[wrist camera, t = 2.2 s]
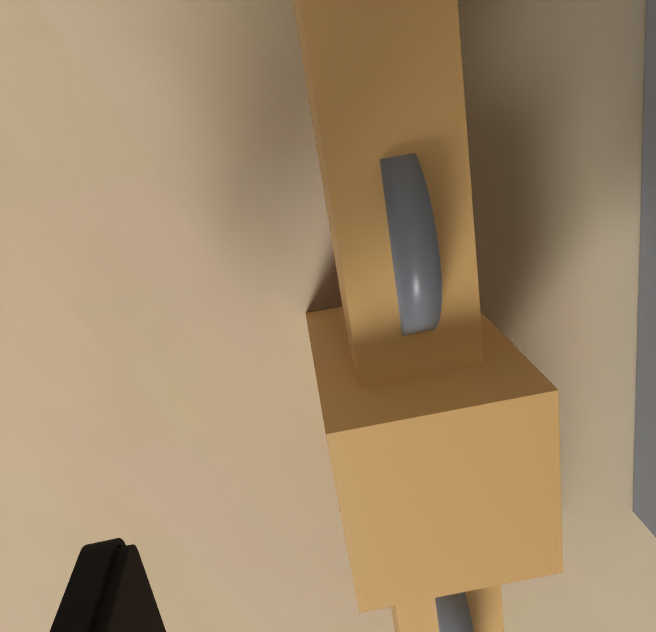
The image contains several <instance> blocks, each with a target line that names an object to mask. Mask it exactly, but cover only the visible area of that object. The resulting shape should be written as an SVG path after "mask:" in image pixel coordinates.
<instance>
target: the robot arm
mask: <svg viewBox="0 0 656 632" xmlns="http://www.w3.org/2000/svg"><path fill="white" fill-rule="evenodd" d="M50 632H166V630H165V627H164V624H163V621H162V619H161V616H160V613H159V610H158V607H157V604H156V601H155V598H154V595H153V592H152V590H151V587H150V584H149V581H148V578H147V575H146V572H145V569H144V566H143V564H142V561H141V558H140V555H139V552H138V550H137V547H136V546H135V545H133V544H132V545H128V546H126V545H125V543H124V541H123V540H122V539H121V538H116V539H112V540H107V541H102V542H97V543H93V544H88V545H85V546H84V547H83V548H82V549H81V551H80V554H79V556H78V559H77V562H76V564H75V567H74V569H73V572H72V575H71V577H70V580H69V582H68V585H67V588H66V590H65V593H64V596H63V598H62V601H61V603H60V606H59V609H58V611H57V614H56V617H55V619H54V622H53V624H52V627H51V630H50Z"/></svg>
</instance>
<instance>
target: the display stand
mask: <svg viewBox="0 0 656 632" xmlns="http://www.w3.org/2000/svg"><path fill="white" fill-rule="evenodd" d="M633 512H634V513H635V514H636V515H637V516H638V518H639V519H640V520H641V521H642V522H643V523H644V524H645V526H646V527H647V528H648V529H649V530H650V531H651V532H652V534H653V535H654V536H655V537H656V0H647V7H646V44H645V81H644V118H643V155H642V191H641V228H640V265H639V302H638V339H637V376H636V413H635V450H634V487H633Z"/></svg>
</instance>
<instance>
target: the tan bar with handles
mask: <svg viewBox="0 0 656 632" xmlns="http://www.w3.org/2000/svg"><path fill="white" fill-rule="evenodd" d="M293 3H294V9H295V15H296V22H297V28H298V34H299V40H300V46H301V53H302V59H303V65H304V71H305V77H306V84H307V90H308V96H309V102H310V108H311V114H312V121H313V127H314V133H315V139H316V145H317V152H318V158H319V164H320V170H321V176H322V182H323V189H324V195H325V201H326V207H327V213H328V220H329V226H330V232H331V238H332V244H333V250H334V257H335V263H336V269H337V275H338V281H339V288H340V294H341V300H342V306H341V307H336V308H330V309H325V310H319V311H314V312H309V313H306V319H307V325H308V331H309V337H310V342H311V348H312V354H313V360H314V366H315V372H316V378H317V384H318V390H319V396H320V402H321V408H322V414H323V420H324V426H325V432H326V438H327V443H328V448H329V453H330V459H331V464H332V469H333V475H334V480H335V485H336V491H337V496H338V501H339V507H340V512H341V517H342V523H343V528H344V533H345V539H346V544H347V549H348V555H349V560H350V565H351V571H352V576H353V581H354V587H355V592H356V597H357V603H358V608H359V613H361V612H366V611H371V610H376V609H381V608H386V607H391V609H392V615H393V622H394V628H395V632H504V624H503V611H502V597H501V584H506V583H511V582H516V581H521V580H526V579H531V578H536V577H541V576H546V575H551V574H556V573H561V572H563V555H562V515H561V475H560V435H559V395H558V389H557V388H556V387H555V386H554V385H553V384H552V383H551V382H550V381H549V380H548V379H547V378H546V377H545V376H544V375H543V374H542V373H541V372H540V371H539V370H538V369H537V368H536V367H535V366H534V365H533V364H532V363H531V362H530V361H529V360H528V359H527V358H526V357H525V356H524V355H523V354H522V353H521V352H520V351H519V350H518V349H517V348H516V347H515V346H514V345H513V344H512V343H511V342H510V341H509V340H508V339H507V338H506V337H505V336H504V335H503V334H502V333H501V332H500V331H499V330H498V329H497V328H496V327H495V326H494V325H493V324H492V323H491V322H490V321H489V319H488V318H487V317H486V316H485V315H484V314H483V313H482V312H481V311H480V299H479V285H478V271H477V258H476V244H475V231H474V217H473V203H472V190H471V176H470V163H469V149H468V136H467V122H466V108H465V95H464V81H463V68H462V54H461V41H460V27H459V13H458V0H293Z"/></svg>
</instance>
